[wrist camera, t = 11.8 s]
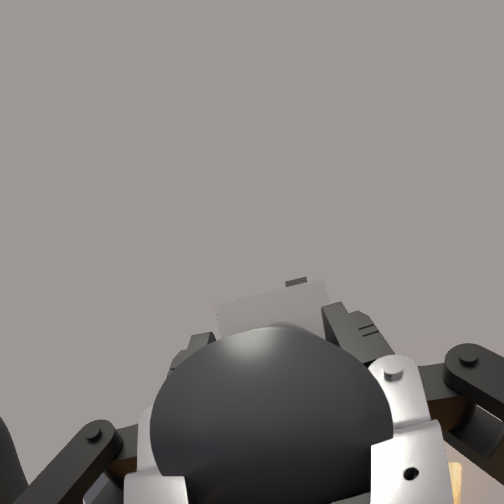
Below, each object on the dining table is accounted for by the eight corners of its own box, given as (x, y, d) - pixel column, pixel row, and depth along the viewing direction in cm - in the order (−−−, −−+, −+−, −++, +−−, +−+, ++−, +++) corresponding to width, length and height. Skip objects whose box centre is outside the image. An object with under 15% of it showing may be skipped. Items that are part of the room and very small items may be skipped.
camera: (123, 528, 4) (54, 221, 5) (251, 371, 26) (235, 300, 28) (468, 472, 3) (392, 130, 5) (326, 354, 25) (309, 283, 27)
